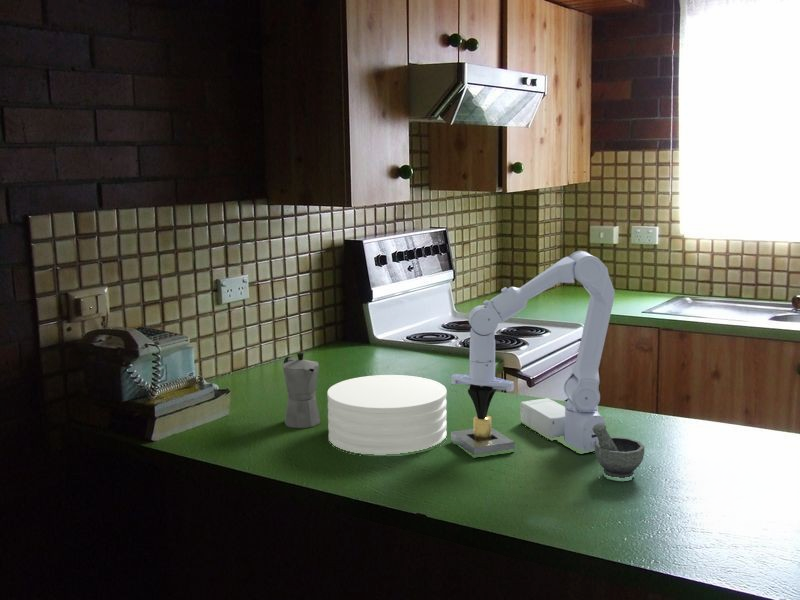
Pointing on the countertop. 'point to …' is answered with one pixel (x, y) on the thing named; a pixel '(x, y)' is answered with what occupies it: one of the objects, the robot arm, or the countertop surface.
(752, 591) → the countertop surface
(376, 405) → the plate stack
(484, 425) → the cylinder
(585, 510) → the countertop surface
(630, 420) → the countertop surface
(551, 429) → the skincare box
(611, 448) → the mortar and pestle
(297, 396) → the coffeepot
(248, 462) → the countertop surface
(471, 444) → the jig
